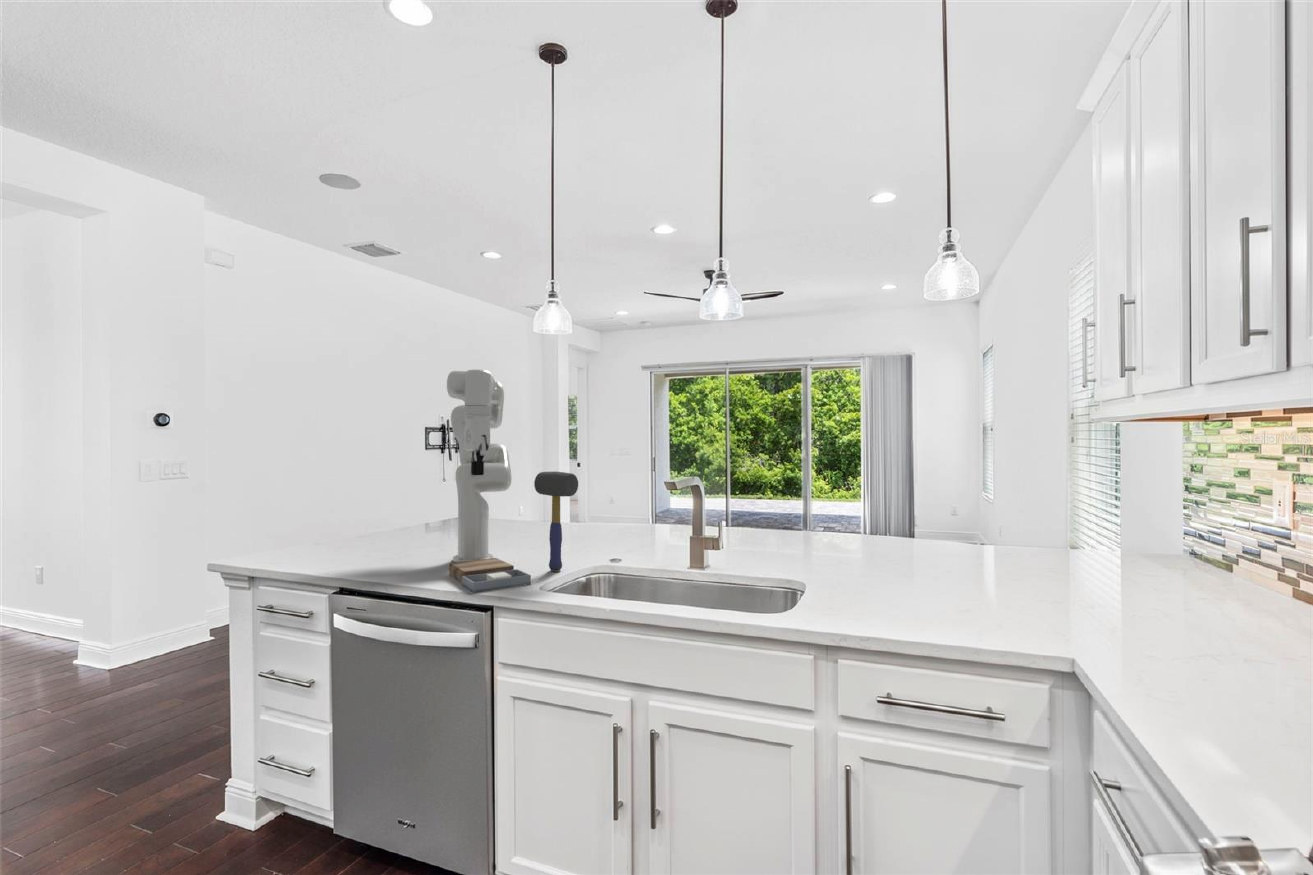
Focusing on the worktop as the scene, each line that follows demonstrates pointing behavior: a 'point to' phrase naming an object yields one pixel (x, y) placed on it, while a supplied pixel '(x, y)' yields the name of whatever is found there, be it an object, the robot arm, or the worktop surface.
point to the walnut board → (477, 567)
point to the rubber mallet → (556, 507)
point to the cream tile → (497, 576)
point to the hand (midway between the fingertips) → (477, 474)
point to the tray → (495, 581)
